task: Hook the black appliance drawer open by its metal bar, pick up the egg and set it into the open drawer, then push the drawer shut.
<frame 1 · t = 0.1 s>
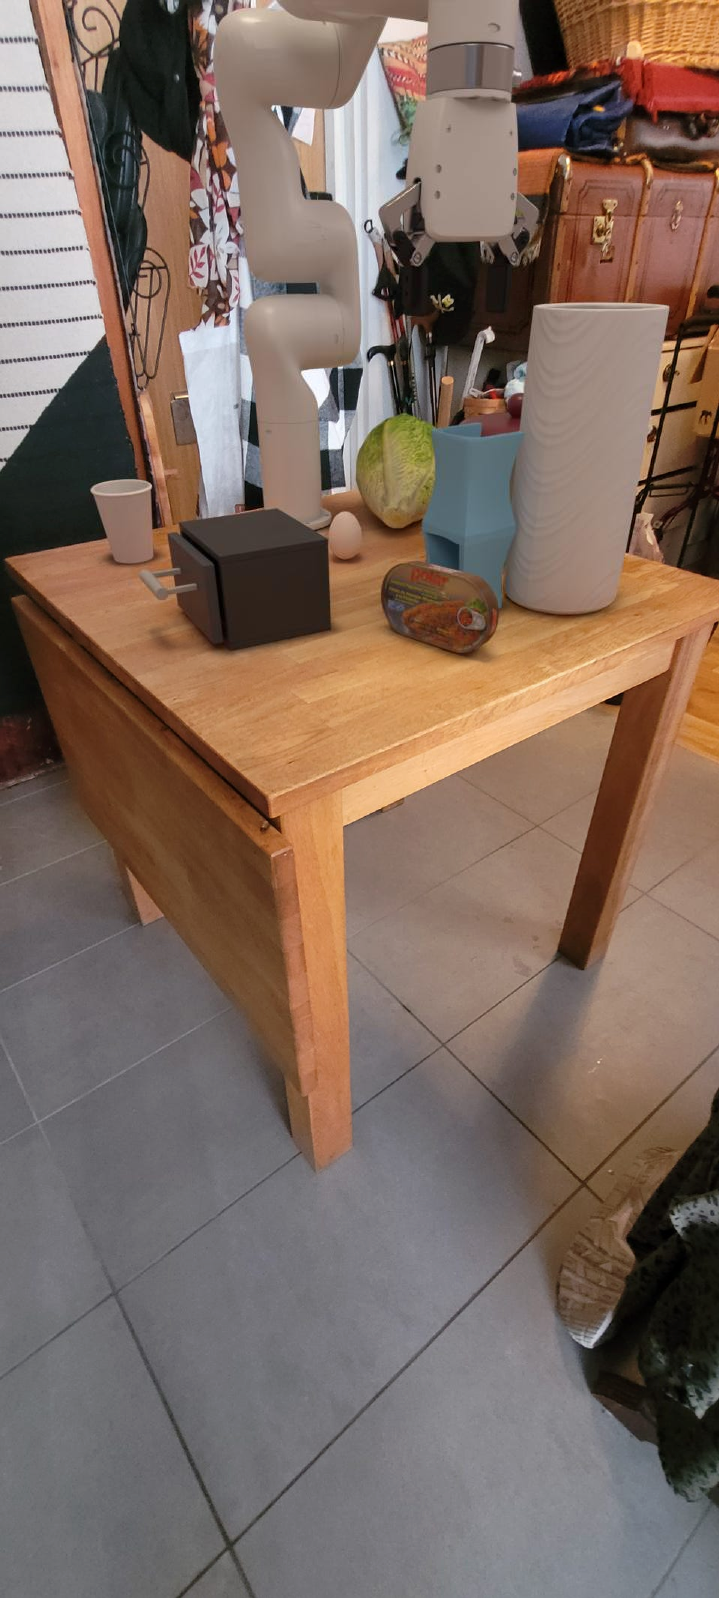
hand: (456, 313, 77), 31 cm above the table, tool pointing down, fingers open, 9 cm apart
tin: (436, 641, 88), on the table
egg: (345, 560, 112), on the table
vase: (557, 598, 99), on the table
canister: (505, 553, 114), on the table
drawer: (217, 582, 89), point 5 cm above the table, slide at 0.5 cm
vase 2: (462, 605, 97), on the table
cabinet: (258, 618, 94), on the table
dixie cup: (134, 558, 113), on the table
lettuce: (400, 518, 129), on the table
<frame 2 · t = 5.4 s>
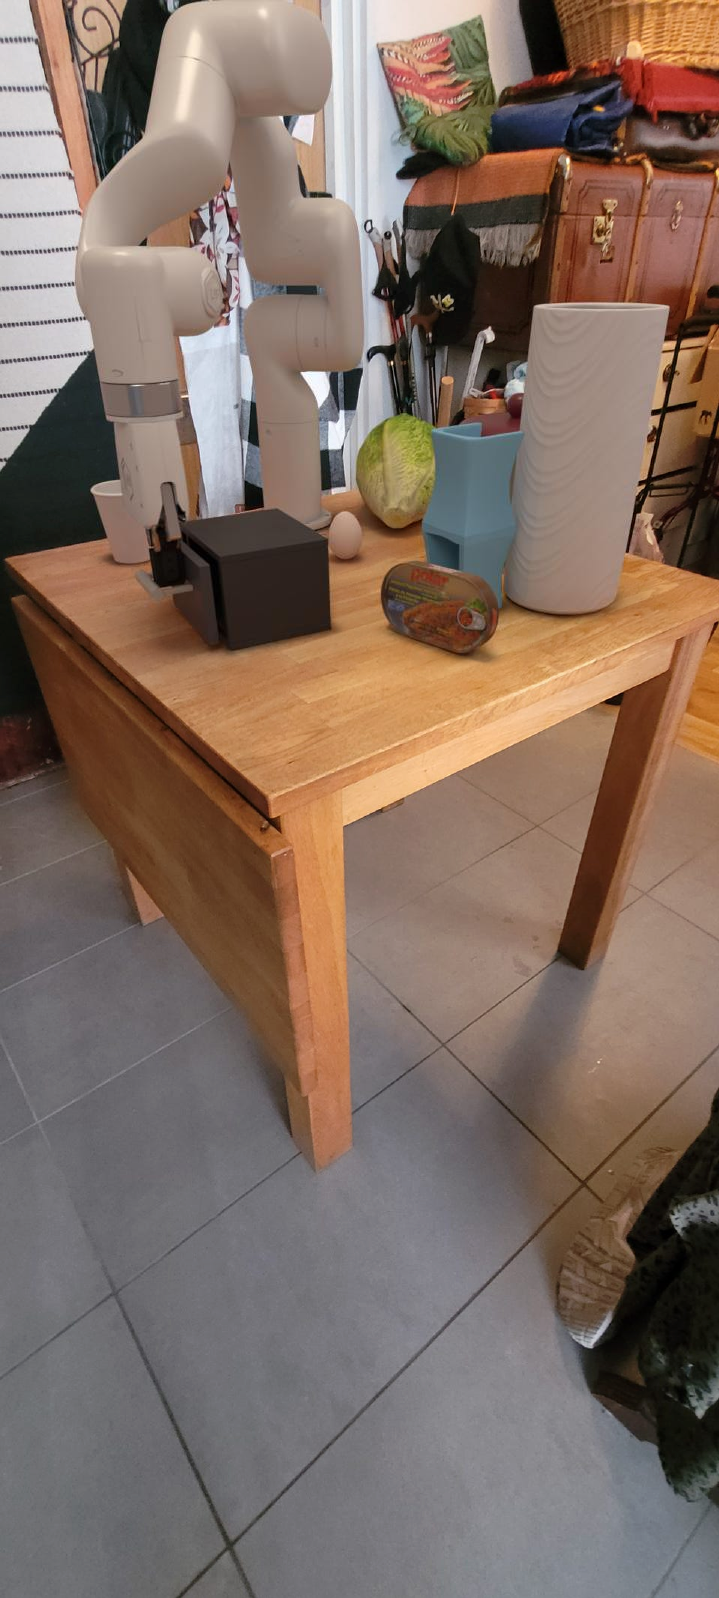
hand: (170, 583, 86), 6 cm above the table, tool pointing down, fingers closed
drawer: (213, 583, 89), point 5 cm above the table, slide at 1.0 cm
everything else where it was.
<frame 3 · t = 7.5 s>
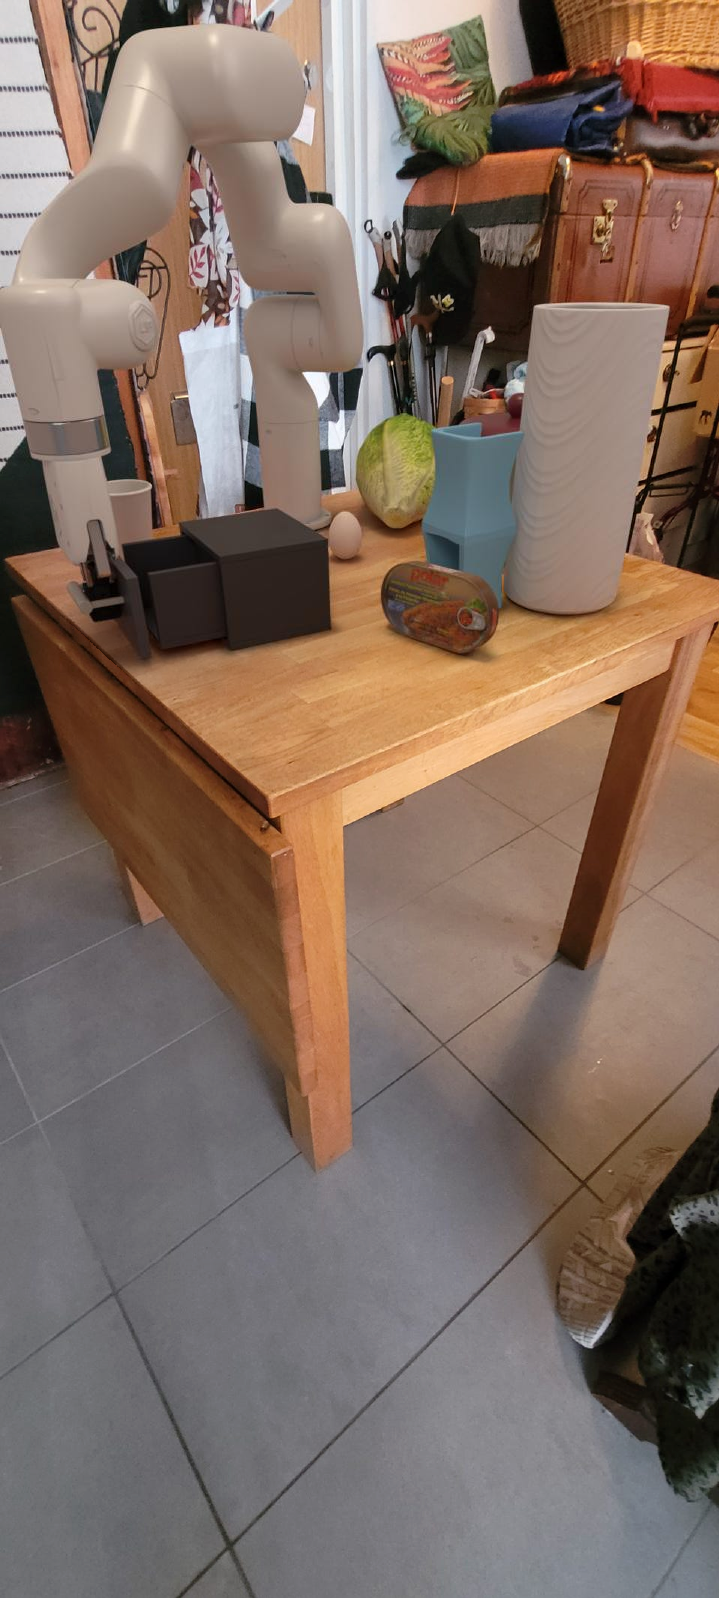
hand: (106, 617, 85), 4 cm above the table, tool pointing down, fingers closed
drawer: (149, 594, 86), point 5 cm above the table, slide at 8.6 cm, touching gripper
everything else where it was.
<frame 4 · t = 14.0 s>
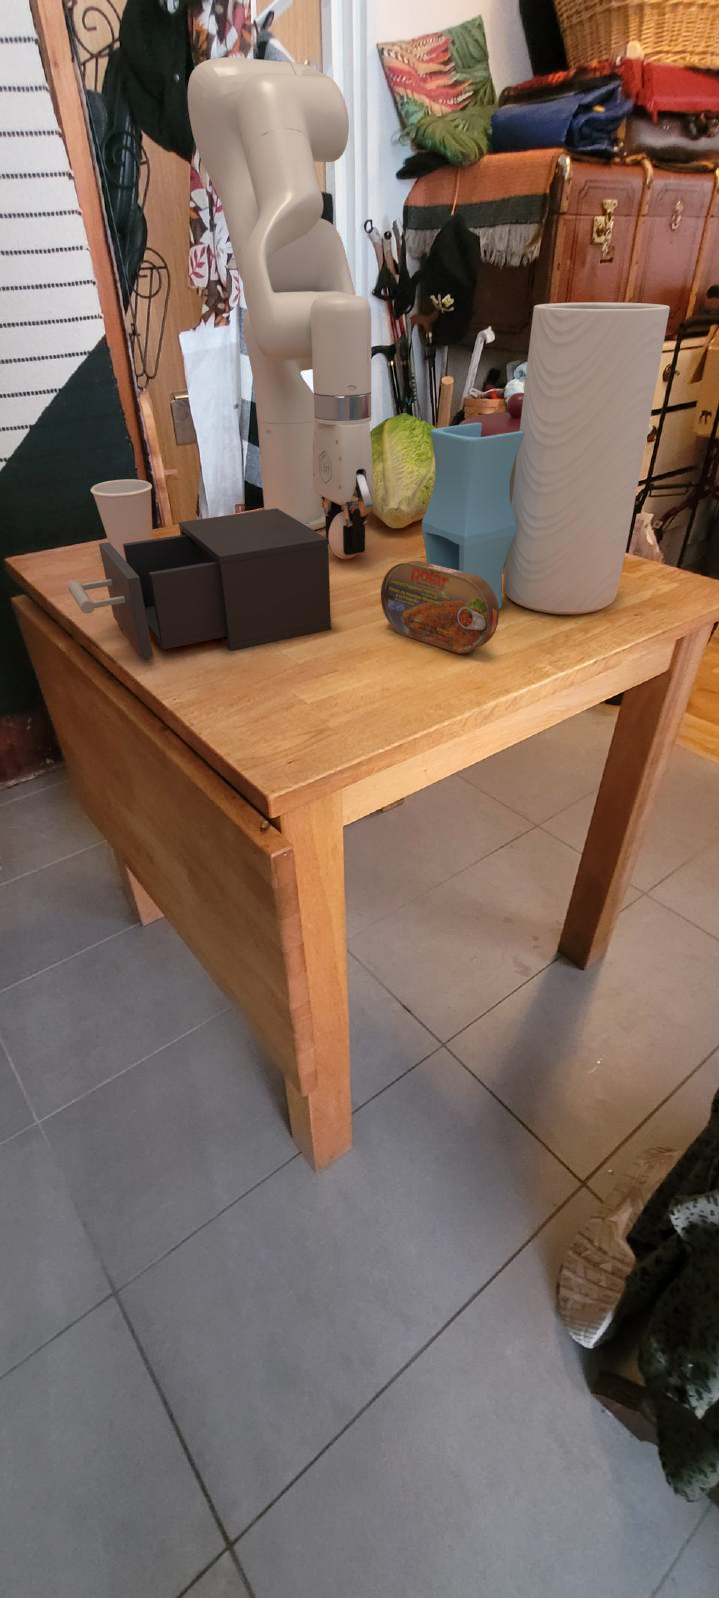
hand: (345, 546, 111), 2 cm above the table, tool pointing down, fingers closed on egg, 4 cm apart
egg: (345, 560, 112), on the table, touching gripper
drawer: (150, 594, 86), point 5 cm above the table, slide at 8.4 cm
everything else where it was.
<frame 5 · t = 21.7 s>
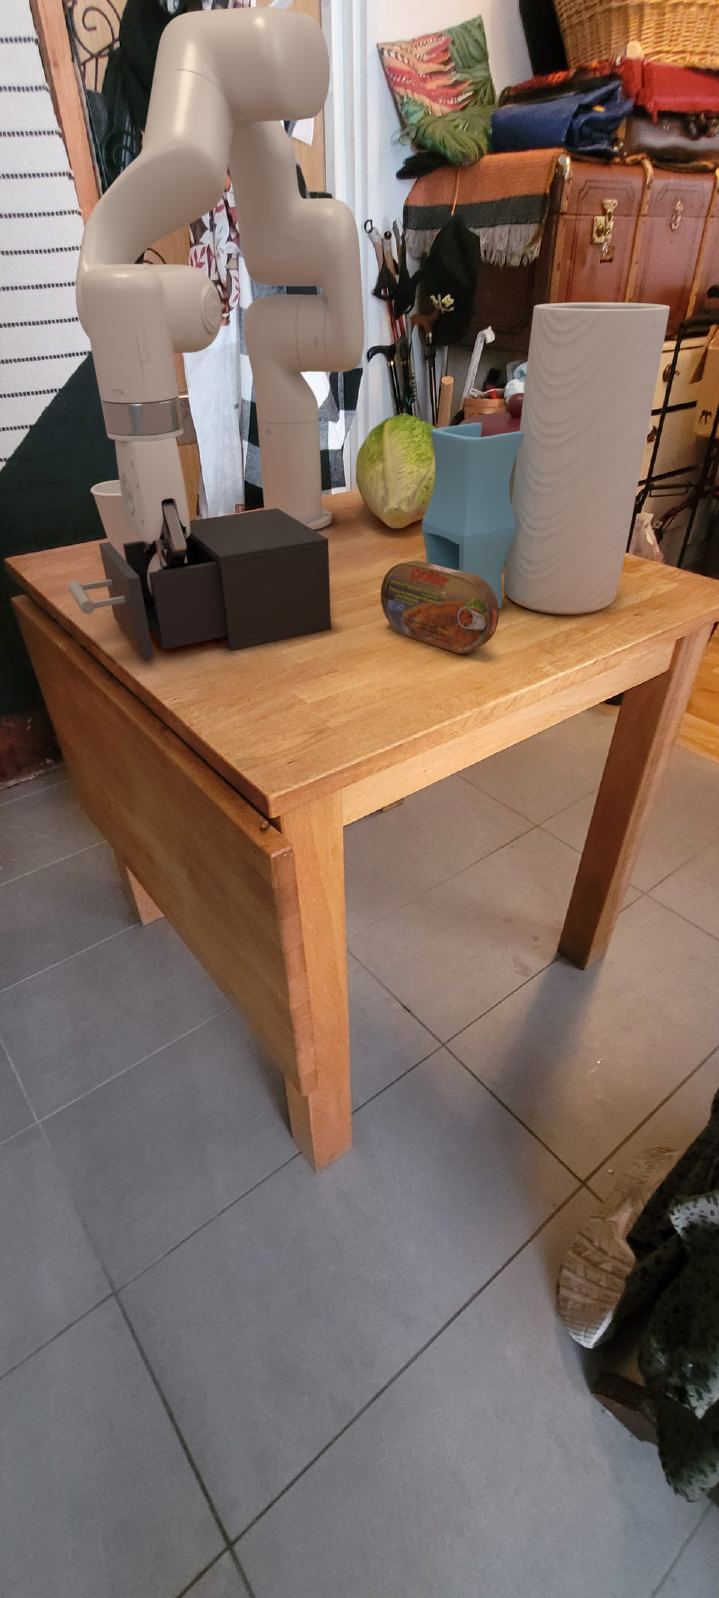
hand: (171, 593, 87), 5 cm above the table, tool pointing down, fingers closed on egg, 4 cm apart
egg: (173, 609, 88), point 3 cm above the table, touching gripper
drawer: (150, 594, 86), point 5 cm above the table, slide at 8.4 cm, touching gripper
everything else where it was.
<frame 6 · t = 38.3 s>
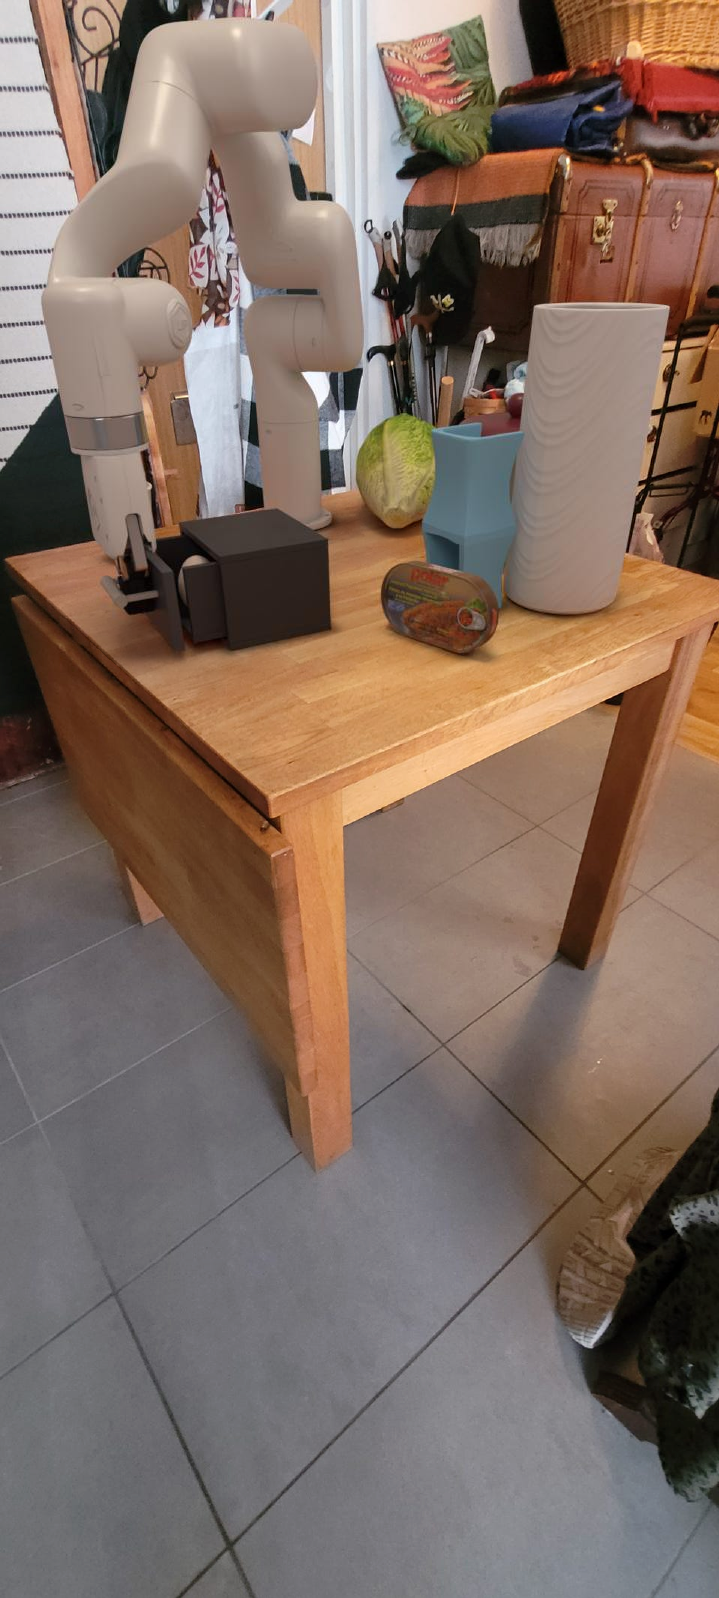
hand: (139, 610, 86), 4 cm above the table, tool pointing down, fingers closed
egg: (203, 614, 90), point 2 cm above the table, touching drawer
drawer: (180, 588, 87), point 5 cm above the table, slide at 4.9 cm, touching egg
everything else where it was.
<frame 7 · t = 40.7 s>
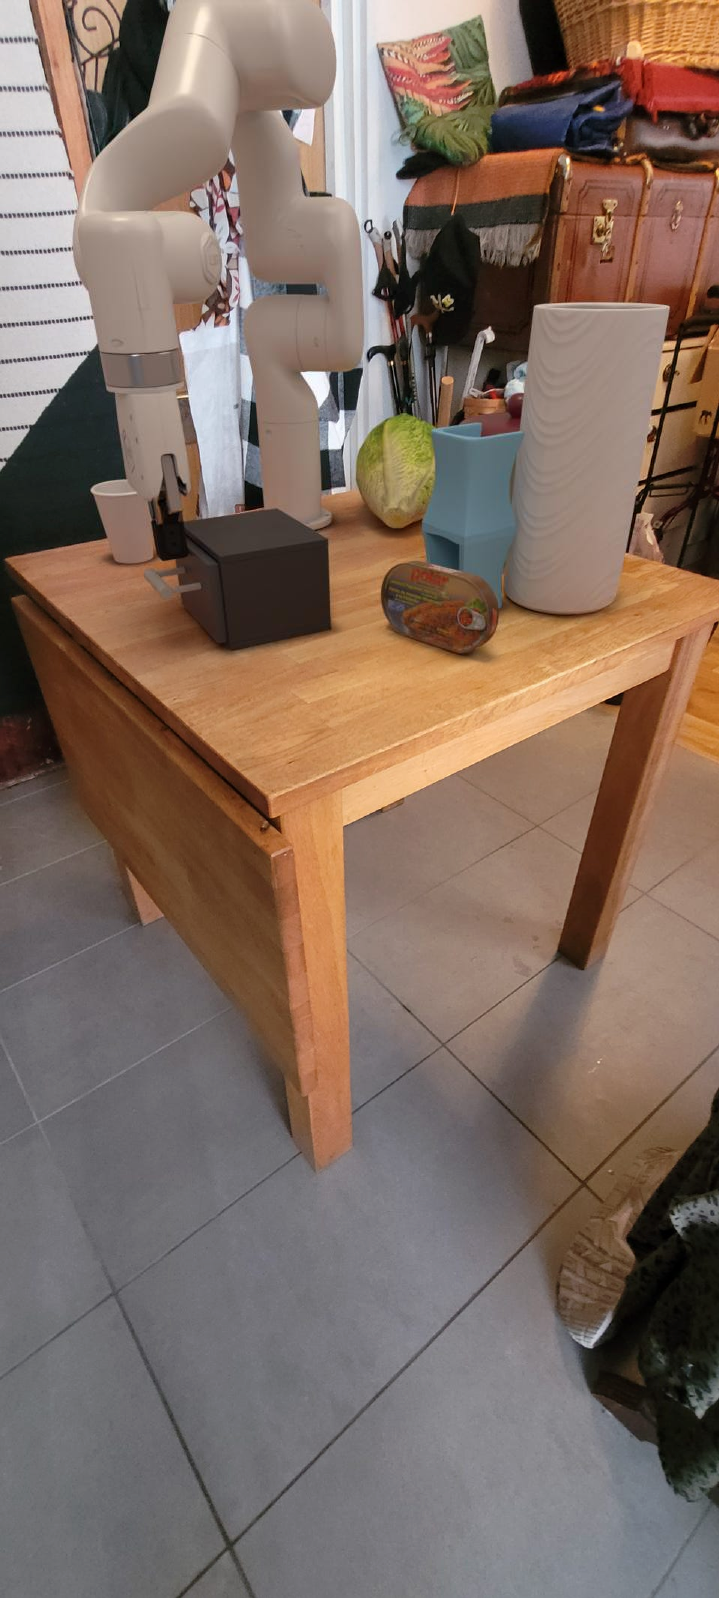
hand: (172, 556, 86), 9 cm above the table, tool pointing down, fingers closed
egg: (242, 606, 92), point 2 cm above the table, touching drawer
drawer: (222, 581, 89), point 5 cm above the table, slide at 0.0 cm, touching cabinet, egg
everything else where it was.
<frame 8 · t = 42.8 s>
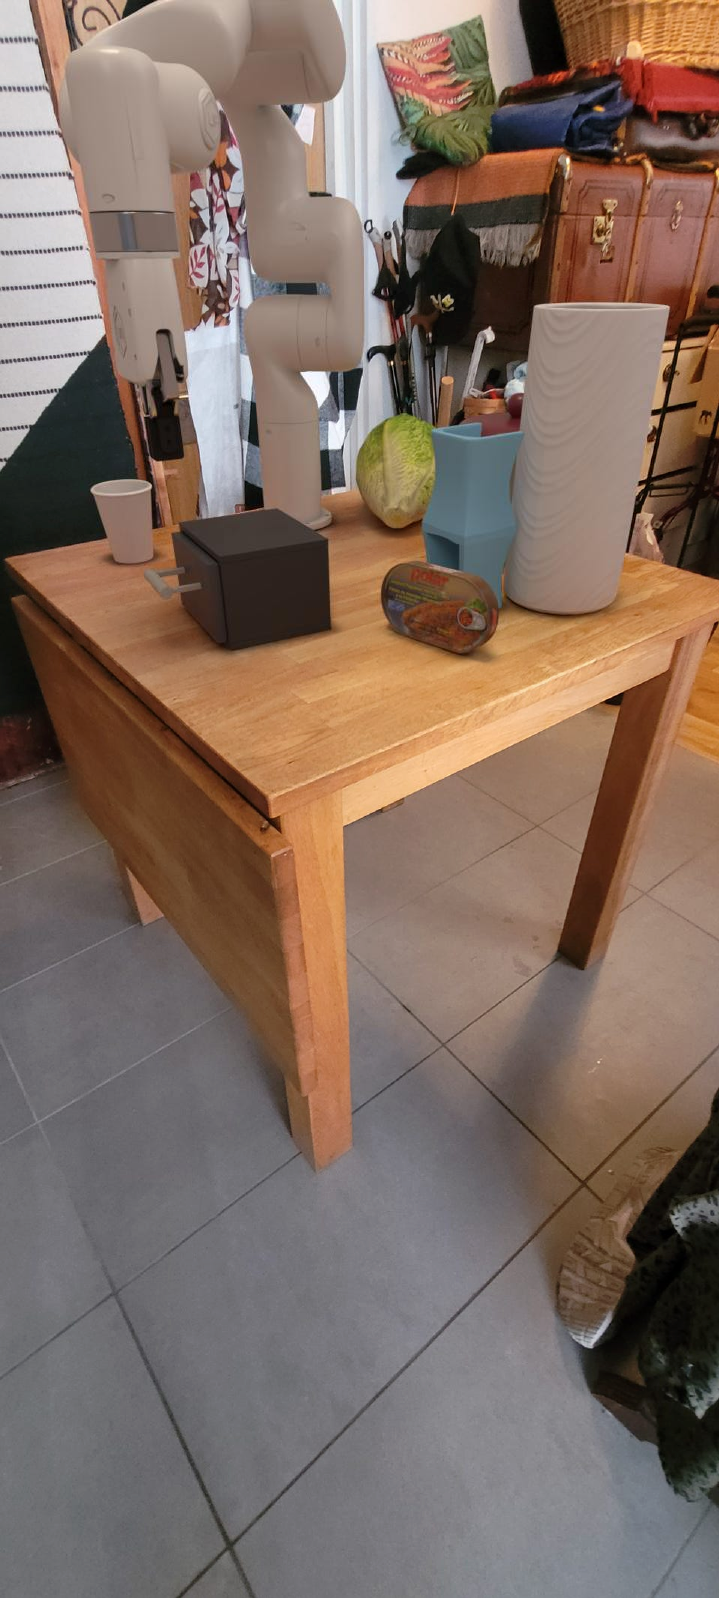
hand: (167, 458, 79), 19 cm above the table, tool pointing down, fingers closed
drawer: (222, 581, 89), point 5 cm above the table, slide at 0.0 cm, touching egg
everything else where it was.
at the end: drawer pulled out 8.6 cm at the most during the clip, back to where it started at the end; egg inside the target area in the cabinet (1.9 cm from its centre), point 1.8 cm above the cabinet's base; drawer slide at 0.0 cm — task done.
